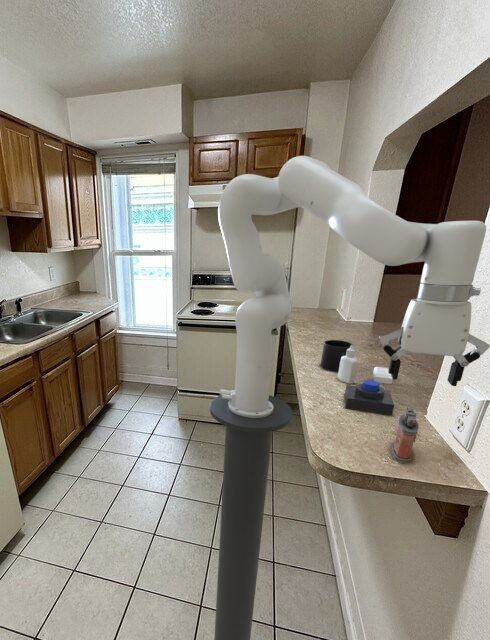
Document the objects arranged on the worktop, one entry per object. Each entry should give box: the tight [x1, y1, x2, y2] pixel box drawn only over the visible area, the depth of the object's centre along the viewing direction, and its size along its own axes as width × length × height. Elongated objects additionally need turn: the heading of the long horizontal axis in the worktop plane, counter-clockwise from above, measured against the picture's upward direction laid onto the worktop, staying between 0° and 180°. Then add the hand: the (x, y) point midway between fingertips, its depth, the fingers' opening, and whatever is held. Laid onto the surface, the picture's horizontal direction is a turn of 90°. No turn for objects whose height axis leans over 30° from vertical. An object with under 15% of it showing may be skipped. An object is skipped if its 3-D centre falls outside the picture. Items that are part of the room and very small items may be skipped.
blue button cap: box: [361, 379, 380, 392], centre depth 97 cm, size 4×4×2 cm
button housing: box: [344, 383, 395, 416], centre depth 98 cm, size 11×10×5 cm
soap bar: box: [372, 366, 394, 385], centre depth 117 cm, size 5×9×3 cm, turn 152°
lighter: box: [391, 406, 420, 464], centre depth 75 cm, size 8×3×10 cm, turn 151°
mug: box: [320, 339, 354, 373], centre depth 124 cm, size 9×12×9 cm
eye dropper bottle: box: [337, 344, 359, 385], centre depth 113 cm, size 4×6×12 cm
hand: (421, 380), depth 70 cm, fingers open, 9 cm apart
